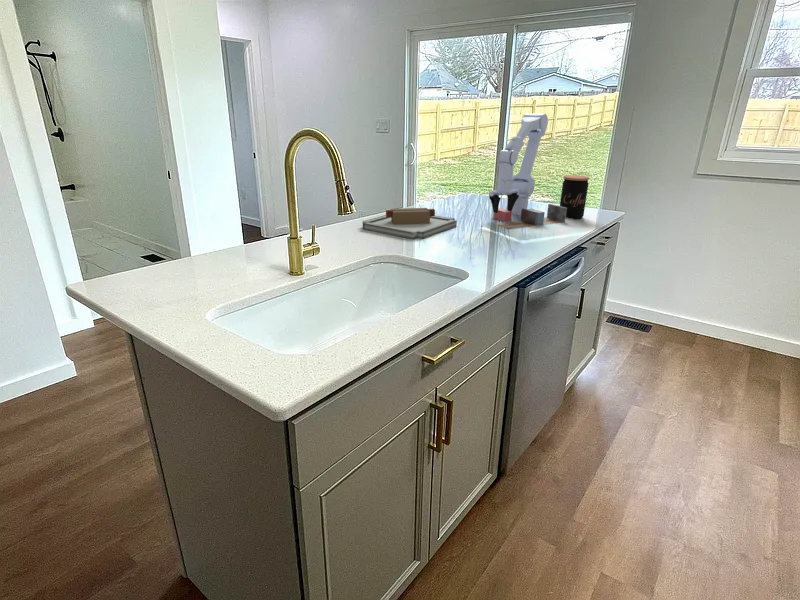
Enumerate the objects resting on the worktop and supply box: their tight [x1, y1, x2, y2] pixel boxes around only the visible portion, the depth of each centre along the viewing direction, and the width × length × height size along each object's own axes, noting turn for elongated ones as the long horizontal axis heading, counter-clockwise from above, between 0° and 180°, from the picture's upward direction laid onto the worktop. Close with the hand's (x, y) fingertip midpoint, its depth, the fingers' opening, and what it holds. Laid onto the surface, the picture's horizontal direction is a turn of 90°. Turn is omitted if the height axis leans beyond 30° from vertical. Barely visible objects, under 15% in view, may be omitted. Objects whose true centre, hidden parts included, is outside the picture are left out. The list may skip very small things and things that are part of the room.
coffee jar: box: [559, 174, 590, 221], centre depth 207 cm, size 11×11×18 cm
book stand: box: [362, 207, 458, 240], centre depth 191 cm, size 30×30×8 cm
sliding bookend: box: [520, 208, 538, 225], centre depth 194 cm, size 9×1×5 cm, turn 26°
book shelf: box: [494, 203, 567, 230], centre depth 194 cm, size 10×30×7 cm, turn 116°
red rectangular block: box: [492, 207, 513, 222], centre depth 202 cm, size 8×4×5 cm, turn 26°
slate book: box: [527, 208, 546, 226], centre depth 195 cm, size 8×4×5 cm, turn 26°
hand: (502, 211), depth 201 cm, fingers open, 7 cm apart
